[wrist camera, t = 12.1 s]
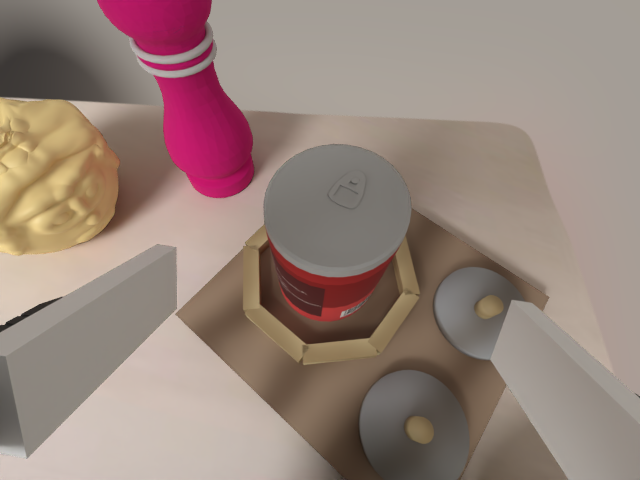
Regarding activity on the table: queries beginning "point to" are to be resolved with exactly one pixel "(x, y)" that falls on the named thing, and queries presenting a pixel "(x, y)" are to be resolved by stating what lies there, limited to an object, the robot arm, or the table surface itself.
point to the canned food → (334, 227)
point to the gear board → (373, 354)
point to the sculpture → (52, 177)
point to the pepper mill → (189, 91)
